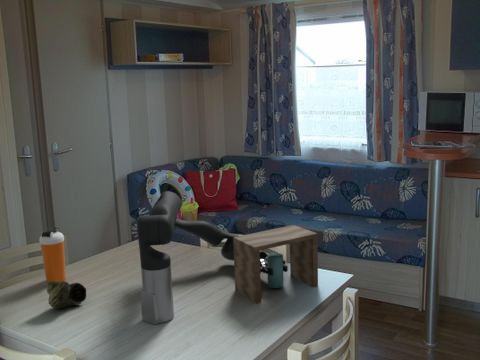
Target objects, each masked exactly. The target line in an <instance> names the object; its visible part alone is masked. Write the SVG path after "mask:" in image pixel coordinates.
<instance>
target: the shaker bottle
mask: <svg viewBox="0 0 480 360" xmlns="http://www.w3.org/2000/svg"><path fill="white" fill-rule="evenodd" d="M59 229H60V228H59V227H52V228H49V229H48V230H46V231H41V234H40V237H39V238H38V240H39V245H40V248H41V255H42V262H43V268H44V269H43V270H44V274H45V275H44V276H45V280H46V282H47V281H55V282H59V281H66V278H67V277H66V259H65V256H66V255H65V254H66V253H65V236H64V234H63V233H62V232H60V231H58V230H59Z"/></svg>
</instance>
